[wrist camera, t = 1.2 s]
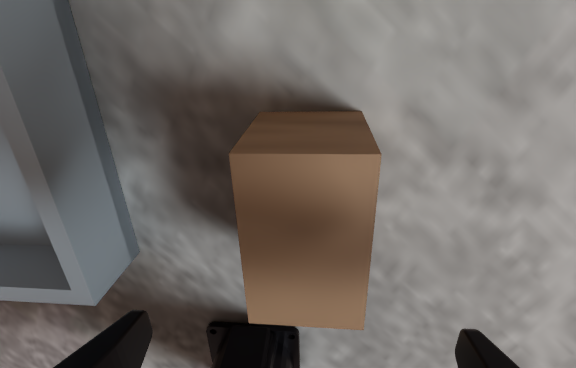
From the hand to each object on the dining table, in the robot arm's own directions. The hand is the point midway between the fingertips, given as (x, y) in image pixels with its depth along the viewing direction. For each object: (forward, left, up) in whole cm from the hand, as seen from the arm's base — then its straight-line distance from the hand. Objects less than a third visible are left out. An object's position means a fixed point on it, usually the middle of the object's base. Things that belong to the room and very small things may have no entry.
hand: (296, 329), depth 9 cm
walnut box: (0, 0, -9) cm, 9 cm away
